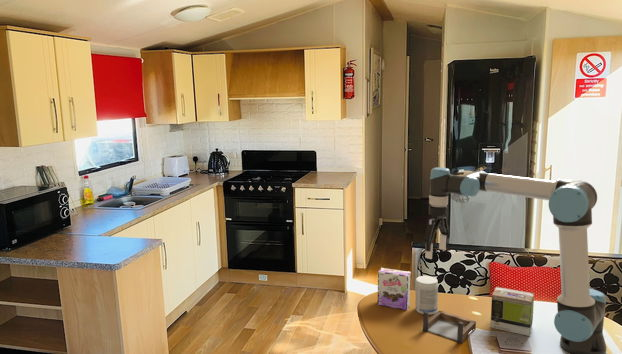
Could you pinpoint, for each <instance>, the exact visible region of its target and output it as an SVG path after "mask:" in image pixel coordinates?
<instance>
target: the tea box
mask: <svg viewBox="0 0 622 354" xmlns="http://www.w3.org/2000/svg"><path fill="white" fill-rule="evenodd" d="M534 301H535V293H534V292H529V291H524V290H516V289H511V288H505V287H499V286H496V287H495V288H494V291H493V292H492V294H491V308H490V309H491V310H490V311H491V312H490V328H492V329H497V330H501V331H504V332H510V333H514V334H519V335H523V336H528V337H530V335H531V332H532V331H531V330H532V327H533V321H534Z"/></svg>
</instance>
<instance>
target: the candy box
mask: <svg viewBox="0 0 622 354" xmlns="http://www.w3.org/2000/svg"><path fill="white" fill-rule="evenodd" d="M411 273H412V272H411V271H409V270H408V271H406V270H399V269H393V268H385V267H380V269H379V270H378V272H377V306H379V305H382V306H381V307H385V306H386V307H385V308H391V309H397V310H398V309H399V310H403V311H408V309H409V308H410V306H409V305H410V303H411V302H410V299H411V298H410V294H411Z"/></svg>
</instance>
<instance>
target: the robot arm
mask: <svg viewBox="0 0 622 354" xmlns="http://www.w3.org/2000/svg"><path fill="white" fill-rule="evenodd" d="M480 191H481V192H488V193H489V192H490V193H496V194H503V195H508V196H509V195H510V196H517V197H521V198H531V199H536V200H544V201H548V209H549V212H550V214H551V215H552V220H553V224H554V226H555V227H557V228H558V243H559V266H560V269H559V270H560V286H561V290H560V291H561V293H560V294H559V295H558V296H557V298H556V304H557V307H556V308H557V312H556V314H555V316H554V320H553V324H554V327H555V328H554V329H556V331H557V332H558V333H559V334H560V339H559V345H560V346H561V348H562V349H564V350H565V351H566V352H568V353H569V354H607V344H606V341H605V336H604V334H603V330H604V321H605V312H606V304H607V296H606V295H605V294H604V292H601V291H600V290H597V289H593V288H590V271H589V267H590V265H589V242H588V241H589V240H588V228H589V227H590V226H591V225H593V213H592V211H593V210H592V209H593V208H594V207H595V206H596V204H597V203H598V193H597V191H596V188H595V187H594V186H593V185H592V184H591V183H589V182H587V181H584V180H581V179H580V180H579V179H564V178H558V179H556V180H549V179H540V178H534V177H533V178H532V177H524V176H516V175H508V174H507V175H506V174H498V173H488V172H486V171H484V170H476V171H472V172H470V173H467V174H463V175H459V174H453V173H451V171H450V169H449V168H447V167H433V168H432V169H431V170H430V177H429V195H428V198H429V199H428V204H429V205H428V215H430V216H431V218H428V219H427V224H426V228H425V233H424V236H423V239H422V240H423V241H422V242H423V243H424V244H425V250H424V251H425V253H424V254H425V255H424V257H425V259H429V260H432V259H433V247H434V246H433V245H434V243H433V241H434V238H435V235H436V232H437V230H439V232H440V234H439V240H438V249H439V250H443V251H446V249H447V247H446V246H447V236H449V234H450V227H449V224H448V207H449V206H448V205H449V194H453V195H461V196H464V197H476V196H477V195H478V193H479V192H480Z"/></svg>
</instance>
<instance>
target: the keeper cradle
mask: <svg viewBox="0 0 622 354" xmlns="http://www.w3.org/2000/svg"><path fill="white" fill-rule="evenodd" d="M422 316H423V317H422V332H424V333H431V334H434V335H437V336H440V337H443V338H445V339H449V340H452V341H455V342H456V343H458V344H463V343H464V341H465V340H466V339H467V338H468V337H469V336H468V333H469V332H470V331H471V330H473V329H476V327H477V326H476V325H477V321H475V320H472V319H468V318H465V317H463V316H459V315H455V314H452V313H449V312H445V311H442V310H437V312H436V313H435V314H432V315H431V317H430V318H429V315H428V312H427V311H424V312H423V314H422Z"/></svg>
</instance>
